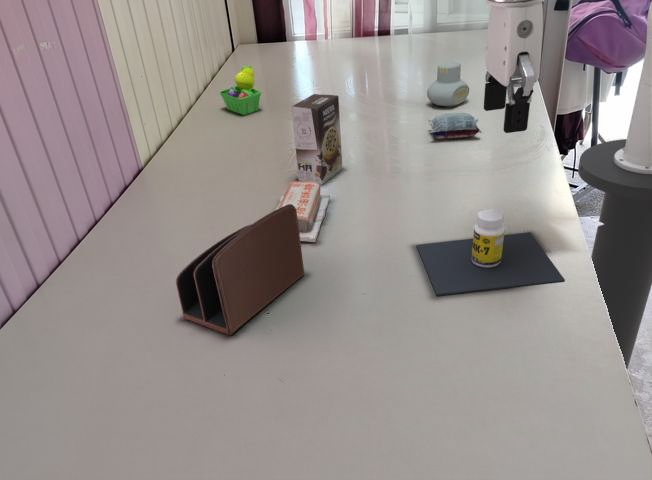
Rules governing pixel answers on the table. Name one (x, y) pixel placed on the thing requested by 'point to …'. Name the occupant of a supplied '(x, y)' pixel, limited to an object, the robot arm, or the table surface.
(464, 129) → the packaged food
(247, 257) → the letter holder
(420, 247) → the mat
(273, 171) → the table surface
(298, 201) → the packaged product
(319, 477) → the table surface
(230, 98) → the fruit basket
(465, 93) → the air freshener
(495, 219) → the supplement bottle
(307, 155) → the coffee box
